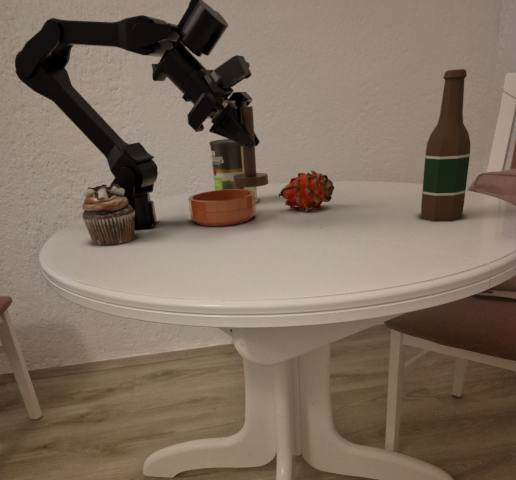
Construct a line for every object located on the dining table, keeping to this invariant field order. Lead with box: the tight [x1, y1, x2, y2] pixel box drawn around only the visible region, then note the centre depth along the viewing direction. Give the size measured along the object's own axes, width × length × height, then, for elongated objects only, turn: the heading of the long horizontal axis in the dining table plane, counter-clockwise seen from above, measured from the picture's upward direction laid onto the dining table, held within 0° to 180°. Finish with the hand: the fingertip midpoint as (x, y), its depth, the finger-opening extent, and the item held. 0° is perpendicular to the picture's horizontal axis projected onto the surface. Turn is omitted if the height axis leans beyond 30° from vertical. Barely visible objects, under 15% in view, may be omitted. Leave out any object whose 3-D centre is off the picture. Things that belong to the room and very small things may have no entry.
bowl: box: [187, 189, 257, 227], centre depth 100 cm, size 14×14×5 cm
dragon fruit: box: [278, 169, 335, 212], centre depth 103 cm, size 8×8×12 cm
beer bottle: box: [420, 68, 471, 222], centre depth 85 cm, size 8×8×24 cm
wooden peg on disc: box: [233, 105, 269, 188], centre depth 87 cm, size 6×6×13 cm
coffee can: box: [209, 138, 258, 204], centre depth 114 cm, size 10×10×14 cm
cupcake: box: [81, 184, 136, 246], centre depth 90 cm, size 10×10×10 cm
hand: (255, 145), depth 86 cm, fingers closed on wooden peg on disc, 2 cm apart
